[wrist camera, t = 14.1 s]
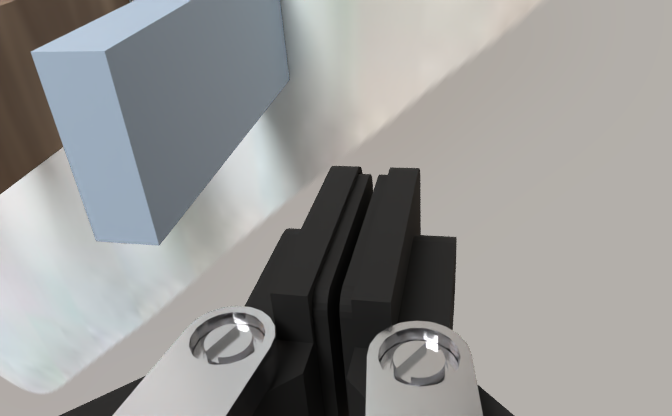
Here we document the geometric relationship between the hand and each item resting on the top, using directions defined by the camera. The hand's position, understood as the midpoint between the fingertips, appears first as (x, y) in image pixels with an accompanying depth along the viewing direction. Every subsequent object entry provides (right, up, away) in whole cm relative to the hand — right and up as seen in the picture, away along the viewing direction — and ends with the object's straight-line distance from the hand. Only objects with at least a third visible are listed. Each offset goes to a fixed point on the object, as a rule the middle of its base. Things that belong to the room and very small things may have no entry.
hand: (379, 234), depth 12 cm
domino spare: (-4, +8, +12) cm, 15 cm away
